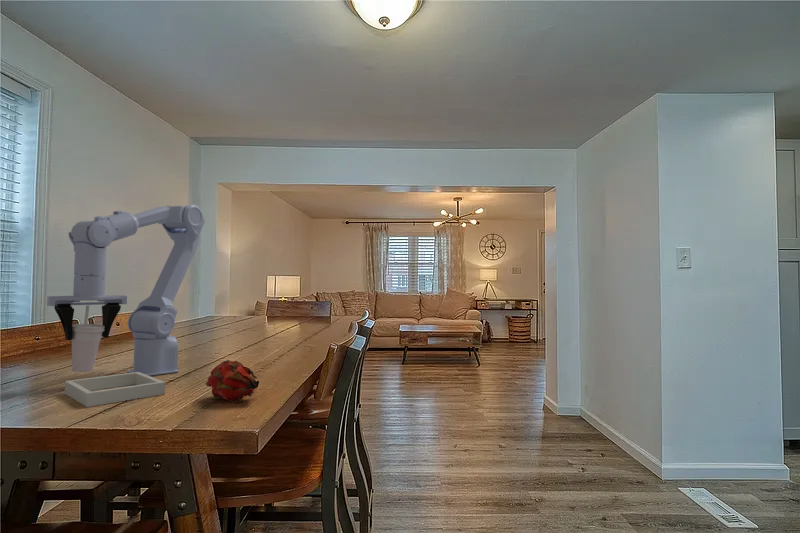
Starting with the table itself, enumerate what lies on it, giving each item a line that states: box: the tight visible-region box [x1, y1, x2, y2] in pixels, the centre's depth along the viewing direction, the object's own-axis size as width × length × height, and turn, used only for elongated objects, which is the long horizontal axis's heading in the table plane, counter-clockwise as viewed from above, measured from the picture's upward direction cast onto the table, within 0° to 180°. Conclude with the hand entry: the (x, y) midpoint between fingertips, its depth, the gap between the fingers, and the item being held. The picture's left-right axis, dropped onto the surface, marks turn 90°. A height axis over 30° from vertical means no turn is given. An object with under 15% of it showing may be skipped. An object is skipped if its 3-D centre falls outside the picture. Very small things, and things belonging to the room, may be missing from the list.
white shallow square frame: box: [64, 372, 166, 408], centre depth 98 cm, size 14×14×2 cm
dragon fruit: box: [205, 359, 260, 404], centre depth 96 cm, size 8×8×12 cm
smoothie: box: [71, 305, 105, 373], centre depth 103 cm, size 6×6×14 cm
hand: (87, 338), depth 103 cm, fingers open, 6 cm apart
